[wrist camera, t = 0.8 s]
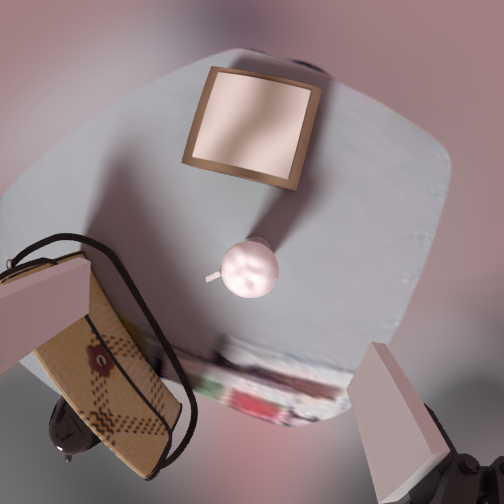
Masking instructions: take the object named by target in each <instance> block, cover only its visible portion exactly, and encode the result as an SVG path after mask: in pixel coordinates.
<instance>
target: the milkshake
mask: <svg viewBox="0 0 504 504" xmlns="http://www.w3.org/2000/svg"><path fill="white" fill-rule="evenodd" d="M278 273H279V269H278V263H277V260H276V257H275V256H274V254H273V252H272V249H271V247H270V245H269V242H268V241H266V240H265V239H263V238H261V237H250V238H248V239H246V240H245V241H243V242H241V243H238V244H236V245H234V246H233V247H231V248H230V249H229V250H228V251H227V252H226V253H225V255H224V257H223V259H222V262H221V270H219V271H217V272H215V273H213V274H211V275H208V276H206V277H205V282H206V283H207V282H209V281H211V280H213V279H216V278H218V277H220V276H222V279H223V281H224V283H225V285H226V287H227V288H228V289H229V290H230V291H232V292H233V293H235V294H236V295H238V296H241V297H245V298H256V297H260V296H263V295H265V294H267V293H268V292H269V291H270V290H271V289H272V287H273V286H274V284H275V283H276V281H277V278H278Z"/></svg>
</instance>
